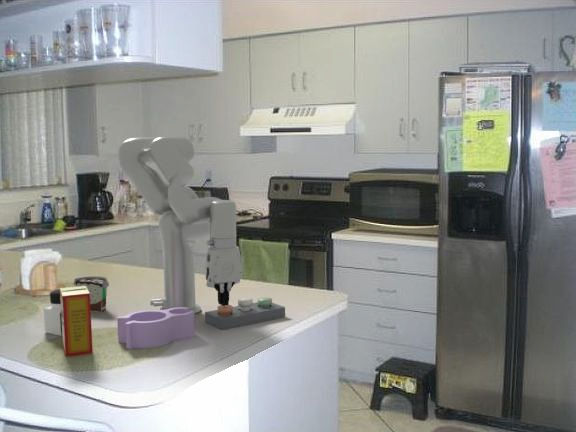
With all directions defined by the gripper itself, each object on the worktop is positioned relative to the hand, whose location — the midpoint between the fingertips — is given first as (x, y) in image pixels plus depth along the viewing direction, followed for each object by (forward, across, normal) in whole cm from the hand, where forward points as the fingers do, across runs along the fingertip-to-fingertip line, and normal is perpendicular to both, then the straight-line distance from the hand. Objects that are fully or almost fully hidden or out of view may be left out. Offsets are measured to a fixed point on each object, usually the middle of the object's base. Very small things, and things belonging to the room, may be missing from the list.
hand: (223, 304), depth 194 cm
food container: (+7, -24, +39) cm, 46 cm away
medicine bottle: (+7, -40, +21) cm, 46 cm away
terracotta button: (+5, 0, -1) cm, 5 cm away
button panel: (+6, +7, -1) cm, 9 cm away
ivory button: (+4, +7, -1) cm, 8 cm away
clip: (+6, -22, -2) cm, 23 cm away
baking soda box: (+6, -42, +2) cm, 43 cm away
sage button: (+5, +14, -1) cm, 15 cm away
